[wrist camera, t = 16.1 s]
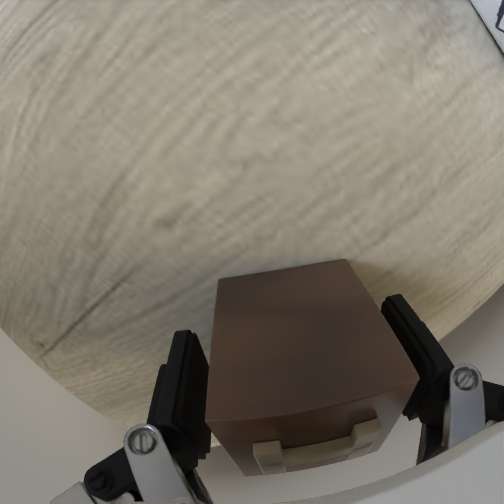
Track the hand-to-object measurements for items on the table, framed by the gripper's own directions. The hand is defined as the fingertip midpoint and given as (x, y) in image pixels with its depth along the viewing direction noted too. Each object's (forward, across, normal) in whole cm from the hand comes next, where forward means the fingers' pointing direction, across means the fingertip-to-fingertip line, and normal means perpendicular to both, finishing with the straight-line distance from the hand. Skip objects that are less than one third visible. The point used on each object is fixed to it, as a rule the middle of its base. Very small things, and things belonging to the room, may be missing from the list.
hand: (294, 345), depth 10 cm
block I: (+2, 0, 0) cm, 2 cm away
